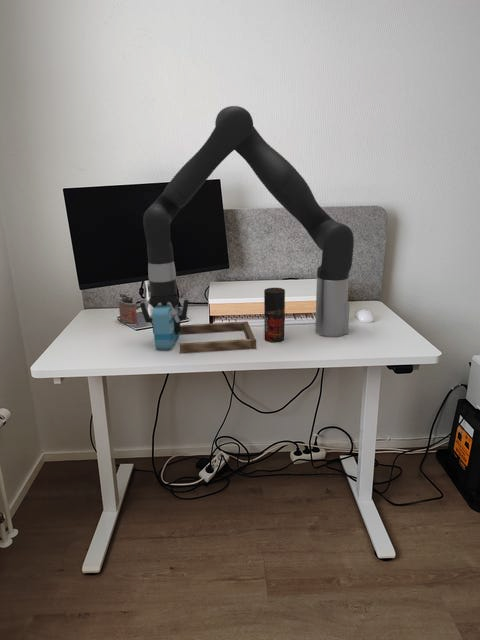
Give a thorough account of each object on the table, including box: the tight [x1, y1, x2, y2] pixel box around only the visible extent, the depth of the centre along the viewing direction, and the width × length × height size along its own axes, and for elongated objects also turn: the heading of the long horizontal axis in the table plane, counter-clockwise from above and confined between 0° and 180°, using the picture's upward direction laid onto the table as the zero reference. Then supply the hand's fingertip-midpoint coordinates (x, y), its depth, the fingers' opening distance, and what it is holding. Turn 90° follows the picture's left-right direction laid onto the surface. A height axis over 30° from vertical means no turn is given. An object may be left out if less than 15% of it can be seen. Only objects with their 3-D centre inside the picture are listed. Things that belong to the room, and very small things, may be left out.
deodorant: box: [263, 287, 286, 344], centre depth 150 cm, size 6×6×15 cm
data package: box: [151, 305, 180, 350], centre depth 148 cm, size 12×4×12 cm, turn 174°
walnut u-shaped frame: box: [178, 320, 257, 355], centre depth 151 cm, size 22×17×2 cm
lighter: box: [117, 292, 139, 326], centre depth 167 cm, size 8×3×10 cm, turn 47°
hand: (167, 334), depth 149 cm, fingers closed on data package, 5 cm apart
